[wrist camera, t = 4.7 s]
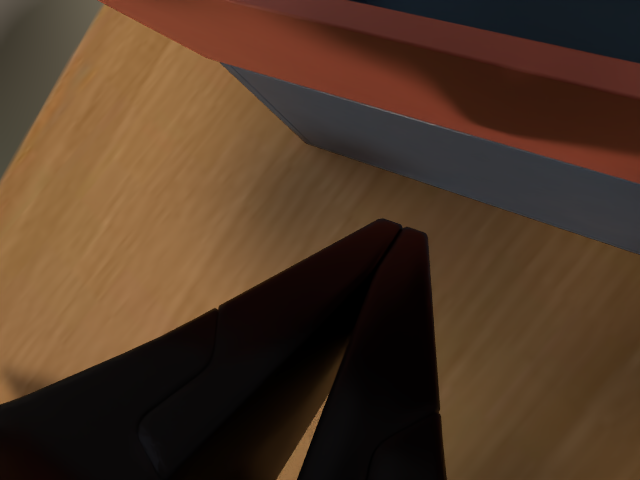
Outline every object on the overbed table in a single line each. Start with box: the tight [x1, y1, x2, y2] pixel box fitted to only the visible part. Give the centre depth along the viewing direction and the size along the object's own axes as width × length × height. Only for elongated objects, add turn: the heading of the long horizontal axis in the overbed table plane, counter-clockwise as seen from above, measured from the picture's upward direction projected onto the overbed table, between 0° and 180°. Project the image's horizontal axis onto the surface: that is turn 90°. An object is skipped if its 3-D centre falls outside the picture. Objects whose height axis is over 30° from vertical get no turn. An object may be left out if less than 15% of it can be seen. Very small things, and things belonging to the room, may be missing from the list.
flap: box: [98, 0, 640, 184], centre depth 7 cm, size 5×14×1 cm
